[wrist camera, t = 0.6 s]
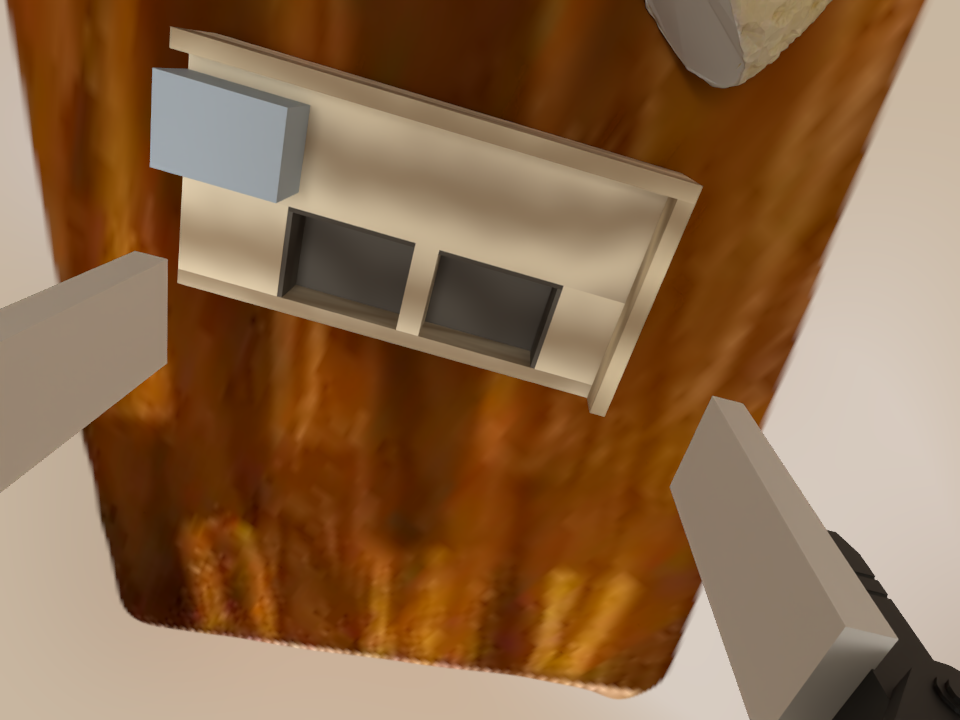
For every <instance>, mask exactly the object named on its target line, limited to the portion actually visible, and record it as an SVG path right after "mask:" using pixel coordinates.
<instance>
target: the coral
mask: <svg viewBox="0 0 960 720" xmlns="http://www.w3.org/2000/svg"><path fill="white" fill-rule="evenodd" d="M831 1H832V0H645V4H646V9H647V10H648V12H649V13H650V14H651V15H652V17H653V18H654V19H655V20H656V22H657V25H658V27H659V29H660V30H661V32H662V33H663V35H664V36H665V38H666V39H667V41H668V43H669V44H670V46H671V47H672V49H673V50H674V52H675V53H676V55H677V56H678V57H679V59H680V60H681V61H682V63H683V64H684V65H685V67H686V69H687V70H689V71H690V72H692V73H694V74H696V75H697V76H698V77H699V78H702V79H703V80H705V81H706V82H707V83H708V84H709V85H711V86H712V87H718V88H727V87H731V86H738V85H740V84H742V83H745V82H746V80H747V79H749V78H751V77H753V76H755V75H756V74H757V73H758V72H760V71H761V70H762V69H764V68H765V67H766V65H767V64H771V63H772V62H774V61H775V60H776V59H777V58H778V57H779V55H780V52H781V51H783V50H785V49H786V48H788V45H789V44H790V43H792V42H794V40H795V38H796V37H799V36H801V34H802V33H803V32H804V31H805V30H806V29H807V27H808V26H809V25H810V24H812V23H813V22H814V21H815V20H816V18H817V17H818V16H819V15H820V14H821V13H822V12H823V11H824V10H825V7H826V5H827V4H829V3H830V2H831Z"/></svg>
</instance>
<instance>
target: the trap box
mask: <svg viewBox="0 0 960 720" xmlns="http://www.w3.org/2000/svg"><path fill="white" fill-rule="evenodd" d="M170 48H172V49H176V50H179V51H182V52H186V53H189V66H188V69H190V70H194V71H197V72H200V73H204V74H207V75H210V76H214V77H217V78H221V79H224V80H227V81H231V82H234V83H237V84H241V85H244V86H247V87H251V88H254V89H258V90H261V91H264V92H268V93H271V94H274V95H278V96H281V97H284V98H288V99H291V100H295V101H298V102H301V103H305V104H308V105H310V112H309V119H308V127H307V134H306V141H305V149H304V156H303V163H302V171H301V178H300V186H299V192H298V193H296V194H294V195H292V196H290V197H288V198H286V199H284V200H282V201H280V202H278V203H273V202H270V201H266V200H263V199H260V198H256V197H253V196H249V195H246V194H242V193H239V192H235V191H232V190H228V189H225V188H221V187H218V186H214V185H211V184H208V183H204V182H201V181H197V180H194V179H190V178H187V177H183V184H182V204H181V224H180V244H179V263H178V283H180V284H183V285H187V286H190V287H194V288H197V289H201V290H205V291H208V292H212V293H215V294H219V295H222V296H226V297H230V298H233V299H237V300H240V301H244V302H247V303H251V304H255V305H258V306H262V307H265V308H269V309H272V310H276V311H279V312H283V313H287V314H290V315H294V316H297V317H301V318H304V319H308V320H312V321H315V322H319V323H322V324H326V325H329V326H333V327H337V328H340V329H344V330H347V331H351V332H354V333H358V334H362V335H365V336H369V337H372V338H376V339H379V340H383V341H386V342H390V343H394V344H397V345H401V346H404V347H408V348H411V349H415V350H419V351H422V352H426V353H429V354H433V355H436V356H440V357H444V358H447V359H451V360H454V361H458V362H461V363H465V364H468V365H472V366H476V367H479V368H483V369H486V370H490V371H493V372H497V373H501V374H504V375H508V376H511V377H515V378H518V379H522V380H526V381H529V382H533V383H536V384H540V385H543V386H547V387H551V388H554V389H558V390H561V391H565V392H568V393H572V394H575V395H579V396H583V397H586V398H587V401H588V406H589V412H590V413H593V414H596V415H600V416H603V417H605V414H606V412H607V410H608V407H609V405H610V403H611V400H612V398H613V396H614V393H615V391H616V389H617V386H618V384H619V382H620V379H621V377H622V375H623V372H624V370H625V368H626V365H627V363H628V360H629V358H630V356H631V353H632V351H633V349H634V346H635V344H636V342H637V339H638V337H639V335H640V332H641V330H642V328H643V325H644V323H645V321H646V318H647V316H648V314H649V311H650V309H651V307H652V304H653V302H654V300H655V297H656V295H657V293H658V290H659V288H660V286H661V283H662V281H663V279H664V276H665V274H666V272H667V269H668V267H669V265H670V262H671V260H672V258H673V255H674V253H675V251H676V248H677V246H678V244H679V241H680V239H681V237H682V234H683V232H684V229H685V227H686V225H687V222H688V220H689V218H690V215H691V213H692V211H693V208H694V206H695V204H696V201H697V199H698V197H699V194H700V192H701V190H702V187H703V186H702V185H700V184H698V183H697V182H695V181H693V180H692V179H690V178H689V177H687V176H685V175H684V174H682V173H679V172H676V171H673V170H669V169H666V168H663V167H659V166H656V165H653V164H649V163H646V162H643V161H639V160H636V159H633V158H629V157H626V156H623V155H619V154H616V153H613V152H609V151H606V150H603V149H599V148H596V147H593V146H589V145H586V144H583V143H579V142H576V141H573V140H569V139H566V138H563V137H559V136H556V135H553V134H549V133H546V132H543V131H539V130H536V129H533V128H529V127H526V126H523V125H520V124H516V123H513V122H510V121H506V120H503V119H500V118H496V117H493V116H490V115H486V114H483V113H480V112H476V111H473V110H470V109H466V108H463V107H460V106H456V105H453V104H450V103H446V102H443V101H440V100H436V99H433V98H430V97H426V96H423V95H420V94H416V93H413V92H410V91H406V90H403V89H400V88H396V87H393V86H390V85H386V84H383V83H380V82H376V81H373V80H370V79H366V78H363V77H360V76H356V75H353V74H350V73H347V72H343V71H340V70H337V69H333V68H330V67H327V66H323V65H320V64H317V63H313V62H310V61H307V60H303V59H300V58H297V57H293V56H290V55H287V54H283V53H280V52H277V51H273V50H270V49H267V48H263V47H260V46H257V45H253V44H250V43H247V42H243V41H240V40H237V39H233V38H230V37H227V36H223V35H220V34H217V33H210V32H204V31H197V30H190V29H184V28H177V27H170Z"/></svg>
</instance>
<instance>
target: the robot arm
mask: <svg viewBox="0 0 960 720" xmlns="http://www.w3.org/2000/svg"><path fill="white" fill-rule="evenodd" d="M167 286H168V259H165V258H161V257H157V256H153V255H149V254H145V253H141V252H137V251H134V252H131V253H129V254H127V255H125V256H122V257H120V258H118V259H115V260H113V261H111V262H108V263H106V264H104V265H101V266H99V267H97V268H94V269H92V270H90V271H87V272H85V273H83V274H80V275H78V276H76V277H73V278H71V279H69V280H66V281H64V282H62V283H59V284H57V285H55V286H52V287H50V288H48V289H45V290H43V291H41V292H39V293H36V294H34V295H32V296H29V297H27V298H25V299H22V300H20V301H18V302H15V303H13V304H11V305H9V306H6V307H4V308H1V309H0V492H2V491H3V490H4V489H6V488H7V487H8V486H10V485H11V484H12V483H13V482H15V481H16V480H17V479H19V478H20V477H21V476H22V475H24V474H25V473H26V472H28V471H29V470H30V469H31V468H33V467H34V466H35V465H37V464H38V463H39V462H40V461H42V460H43V459H44V458H46V457H47V456H48V455H49V454H51V453H52V452H53V451H55V450H56V449H57V448H59V447H60V446H61V445H62V444H64V443H65V442H66V441H67V440H69V439H70V438H71V437H73V436H74V435H75V434H77V433H78V432H79V431H80V430H82V429H83V428H84V427H86V426H87V425H88V424H89V423H91V422H92V421H93V420H95V419H96V418H97V417H98V416H100V415H101V414H102V413H104V412H105V411H106V410H107V409H109V408H110V407H111V406H113V405H114V404H115V403H116V402H118V401H119V400H120V399H122V398H123V397H124V396H125V395H127V394H128V393H129V392H131V391H132V390H133V389H134V388H136V387H137V386H138V385H140V384H141V383H142V382H143V381H145V380H146V379H147V378H149V377H150V376H151V375H152V374H154V373H155V372H156V371H158V370H159V369H160V368H161V367H163V366H164V365H165V364H167ZM670 489H671V492H672V495H673V498H674V501H675V504H676V507H677V509H678V512H679V515H680V518H681V521H682V524H683V527H684V530H685V533H686V536H687V539H688V541H689V544H690V547H691V550H692V553H693V556H694V559H695V562H696V565H697V568H698V571H699V573H700V576H701V579H702V582H703V585H704V588H705V591H706V594H707V597H708V600H709V603H710V605H711V608H712V611H713V614H714V617H715V620H716V623H717V626H718V629H719V632H720V634H721V637H722V640H723V643H724V646H725V649H726V652H727V655H728V658H729V661H730V663H731V666H732V669H733V672H734V675H735V678H736V681H737V684H738V687H739V690H740V693H741V696H742V699H743V701H744V704H745V707H746V710H747V713H748V716H749V719H750V720H960V671H958V670H956V669H955V668H953V667H951V666H949V665H946V664H943V663H940V662H937V661H934V660H933V659H932V658H931V656H930V655H929V653H928V652H927V650H926V649H925V647H924V646H923V644H922V643H921V642H920V640H919V639H918V637H917V636H916V634H915V633H914V632H913V630H912V629H911V627H910V626H909V624H908V623H907V622H906V620H905V619H904V617H903V616H902V614H901V613H900V612H899V610H898V609H897V607H896V606H895V604H894V603H893V601H892V600H891V599H888V598H887V595H888V594H887V593H886V591H885V590H884V589H883V587H882V586H881V584H880V583H879V581H877V580H875V579H874V577H875V576H874V574H873V573H872V571H871V570H870V568H869V567H868V565H867V564H866V563H865V561H864V560H863V559H862V557H861V555H860V554H859V553H858V552H857V551H856V550H855V549H854V548H852V547H851V546H850V545H849V544H848V543H847V542H846V541H845V540H844V539H843V538H842V537H840V536H839V535H838V534H837V533H836V532H832V531H828V530H826V528H825V527H824V526H823V524H822V522H821V521H820V519H819V518H818V516H817V515H816V513H815V512H814V510H813V509H812V507H811V506H810V504H809V503H808V501H807V500H806V498H805V497H804V495H803V494H802V492H801V491H800V489H799V487H798V486H797V485H796V483H795V482H794V480H793V478H792V477H791V475H790V474H789V472H788V471H787V469H786V468H785V466H784V465H783V463H782V462H781V460H780V459H779V457H778V456H777V454H776V453H775V451H774V450H773V448H772V447H771V445H770V444H769V442H768V441H767V439H766V437H765V436H764V434H763V433H762V431H761V430H760V428H759V427H758V425H757V424H756V422H755V421H754V419H753V418H752V416H751V415H750V413H749V412H748V410H747V409H746V407H745V406H744V404H743V403H739V402H735V401H731V400H727V399H723V398H719V397H715V396H712V398H711V400H710V402H709V404H708V406H707V408H706V411H705V413H704V415H703V417H702V419H701V421H700V423H699V425H698V428H697V430H696V432H695V434H694V436H693V438H692V440H691V442H690V445H689V447H688V449H687V451H686V453H685V455H684V457H683V460H682V462H681V464H680V466H679V468H678V470H677V472H676V474H675V477H674V479H673V481H672V483H671V485H670Z"/></svg>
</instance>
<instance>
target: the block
mask: <svg viewBox="0 0 960 720" xmlns="http://www.w3.org/2000/svg"><path fill="white" fill-rule="evenodd" d="M309 112H310V105H308V104H305V103H301V102H298V101H295V100H291V99H288V98H284V97H281V96H278V95H274V94H271V93H268V92H264V91H261V90H258V89H254V88H251V87H247V86H244V85H241V84H237V83H234V82H231V81H227V80H224V79H221V78H217V77H214V76H210V75H207V74H204V73H200V72H197V71H194V70H190V69H176V68H153V70H152V107H151V144H150V167H152V168H156V169H159V170H163V171H166V172H169V173H173V174H176V175H180V176H183V177H187V178H190V179H194V180H197V181H201V182H204V183H208V184H211V185H214V186H218V187H221V188H225V189H228V190H232V191H235V192H239V193H242V194H246V195H249V196H253V197H256V198H260V199H263V200H266V201H270V202H273V203H278V202H280V201H282V200H284V199H286V198H288V197H290V196H292V195H294V194H296V193H298V192H299V186H300V178H301V171H302V163H303V156H304V149H305V141H306V134H307V127H308V119H309Z"/></svg>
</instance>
